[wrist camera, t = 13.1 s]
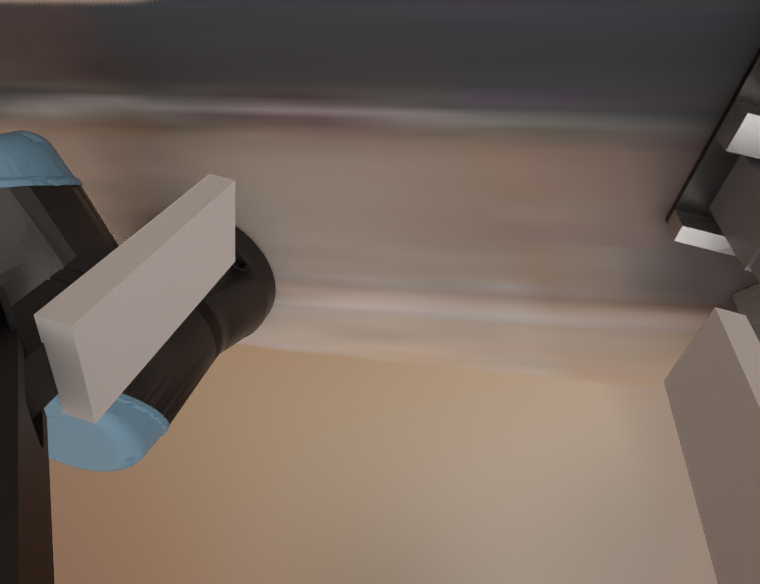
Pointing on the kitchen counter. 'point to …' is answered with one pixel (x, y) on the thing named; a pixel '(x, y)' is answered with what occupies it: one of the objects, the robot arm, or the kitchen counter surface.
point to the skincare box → (750, 306)
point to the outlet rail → (718, 167)
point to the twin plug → (741, 212)
